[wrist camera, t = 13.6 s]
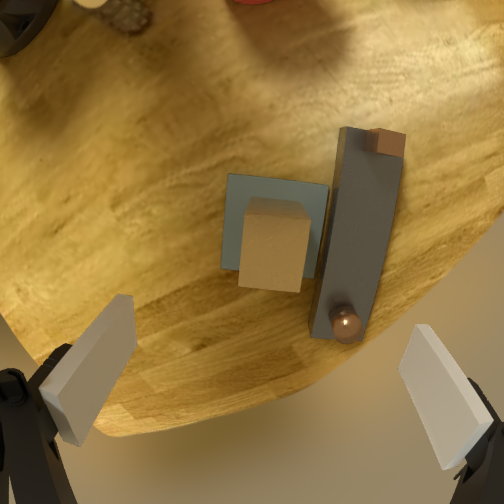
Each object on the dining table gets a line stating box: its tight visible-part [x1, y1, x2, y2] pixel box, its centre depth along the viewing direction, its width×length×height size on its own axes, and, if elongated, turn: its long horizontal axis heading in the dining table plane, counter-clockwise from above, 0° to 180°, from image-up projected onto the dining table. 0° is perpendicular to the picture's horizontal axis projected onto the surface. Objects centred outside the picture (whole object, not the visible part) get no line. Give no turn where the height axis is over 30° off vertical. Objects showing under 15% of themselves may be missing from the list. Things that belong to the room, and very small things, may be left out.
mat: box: [221, 174, 329, 279], centre depth 32 cm, size 10×10×1 cm
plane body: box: [308, 126, 406, 344], centre depth 29 cm, size 22×6×7 cm, turn 174°
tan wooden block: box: [238, 196, 311, 293], centre depth 28 cm, size 6×5×8 cm
